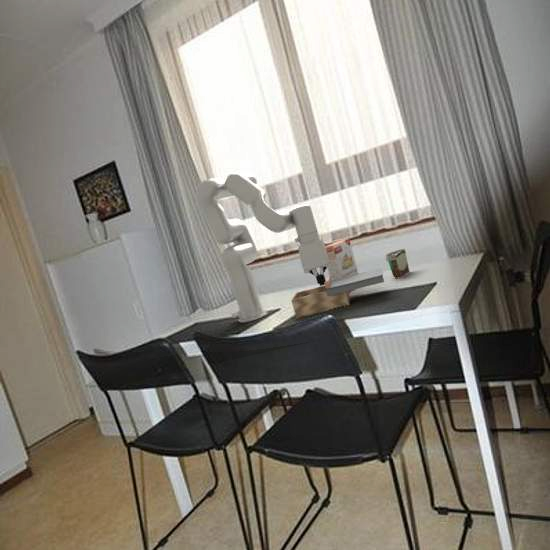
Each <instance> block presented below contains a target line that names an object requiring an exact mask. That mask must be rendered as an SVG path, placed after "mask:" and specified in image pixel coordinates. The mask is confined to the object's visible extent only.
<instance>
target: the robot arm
mask: <svg viewBox="0 0 550 550" xmlns="http://www.w3.org/2000/svg"><path fill="white" fill-rule="evenodd" d="M257 182H258V181H257V178H256V176H255V175H254V173H252V172H250V171H246V170H243V171H237V172H235V171H234V172H231V173H230V174H229V175H227V176H221V177H214V178H213V177H212V178H207V179H204V180H203V181H200V183H199V184H198V185H197V187H196V190H195V202H196V203H197V206H198V208H199V210H200V211H201V213H202V214H203V217H204V219H205V220H206V223H207V224H208V225H207V226H208V227H209V229H210V231H211V233H212V235H213V237H214V240H215V241H216V243H217V244H219V245H221V246H223V245H228V244H232V243H233V245H229V246H228V247H226V248H225V249H223V251H222V252H221V256H220V259H221V263H222V265H223V267H224V269H225V271H226V273H227V275H228V279H229V281H230V284H231V287H232V290H233V294H234V296H235V300H236V303H237V306H238V311H236V312H233V313H232V312H231V317H232V318H238V322H239V323H249V322H252V321H255V320H258V319H261V318H263V317H266V316H267V315H268V313H269V312H268V311H267V310H266V309H263V306H262V302H261V300H260V299H261V298H260V296H259V292H258V288H257V286H256V282H255V279H254V276H253V273H252V271H251V270H250V269H249V267H248V264H251V263H252V262H254V261H255V260H256V259H257V257H258V249H257V246H256V244H255V241H254V239H253V238H252V235H251V233H250V231H249V230H248V227H247V225H246V224H245V223H244V221H242V220H240V219H239V218H231V219H229V217H228V215H227V213H226V212H225V209H224V208H223V206H222V205H221V204H220V203H218V202H217V200H220V199H224V198H229V197H235V198H236V199H238V200H239V201H240V202H242V203H243V204H244V205H246V206H247V207H248V208H250V210H251V212H252V215H253V216H254V217H255V219H256V221H257V222H258V223H260V225H262V226H263V227H265V228H266V229H267V230H269V231H270V232H273V233H277V234H279V233H283V232H285V231H290V230H291V229H294V228H295V232H296V235H297V237H296V238H295V239H294V242H295V243H299V244H298V246H297V247H298V253H299V257H300V263H301V267H302V269H303V273H304V274H311V275H313V276H314V277H315V279H316V282H317V284H318V285H319V287H321V286H324V285H325V281H326V276H325V272H326V270H328V268H329V267H331V266H332V264H331V262H330V260H329V256H328V253H327V250H326V245H325V243H324V240H323V239H322V238H320V235H319V231H318V227H317V225H316V221H315V217H314V214H313V211H312V208H311V206H310V205H309V204H301V205H299V206H295V207H293V208H289V209H288V208H287V209H284V210H280V211H276V210H274V209H273V208H271V207H270V206H269V205H268V204H266V202H265V199H266V195H267V194H266V191H265V190H264V189H262V188H261V187H260V186H259V185H257V184H258V183H257ZM318 268H319V272H318Z"/></svg>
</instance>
